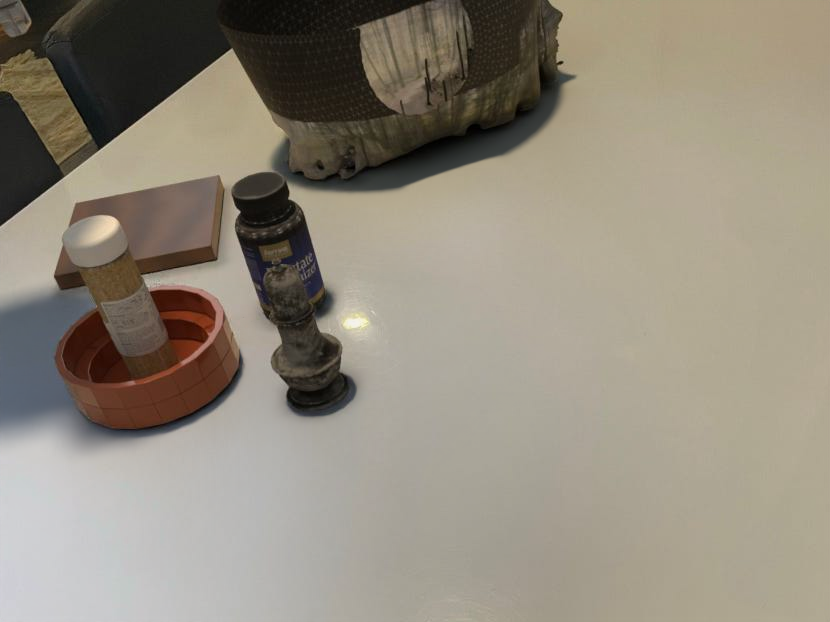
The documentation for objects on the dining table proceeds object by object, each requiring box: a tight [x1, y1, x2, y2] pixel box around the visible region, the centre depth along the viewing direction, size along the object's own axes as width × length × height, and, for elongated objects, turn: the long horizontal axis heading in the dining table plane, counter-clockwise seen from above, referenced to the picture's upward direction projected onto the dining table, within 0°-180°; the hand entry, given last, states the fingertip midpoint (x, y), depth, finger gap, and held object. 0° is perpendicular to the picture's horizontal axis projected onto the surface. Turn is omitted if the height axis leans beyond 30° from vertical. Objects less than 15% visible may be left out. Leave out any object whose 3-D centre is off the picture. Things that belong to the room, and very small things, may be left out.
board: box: [53, 174, 225, 290], centre depth 100 cm, size 16×15×2 cm
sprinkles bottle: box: [61, 215, 181, 381], centre depth 78 cm, size 5×5×13 cm
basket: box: [215, 0, 564, 181], centre depth 102 cm, size 28×35×16 cm
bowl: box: [53, 284, 240, 430], centre depth 82 cm, size 14×14×4 cm
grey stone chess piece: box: [263, 257, 350, 412], centre depth 75 cm, size 6×6×12 cm
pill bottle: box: [230, 171, 327, 317], centre depth 84 cm, size 6×6×11 cm
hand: (7, 57), depth 70 cm, fingers open, 8 cm apart
